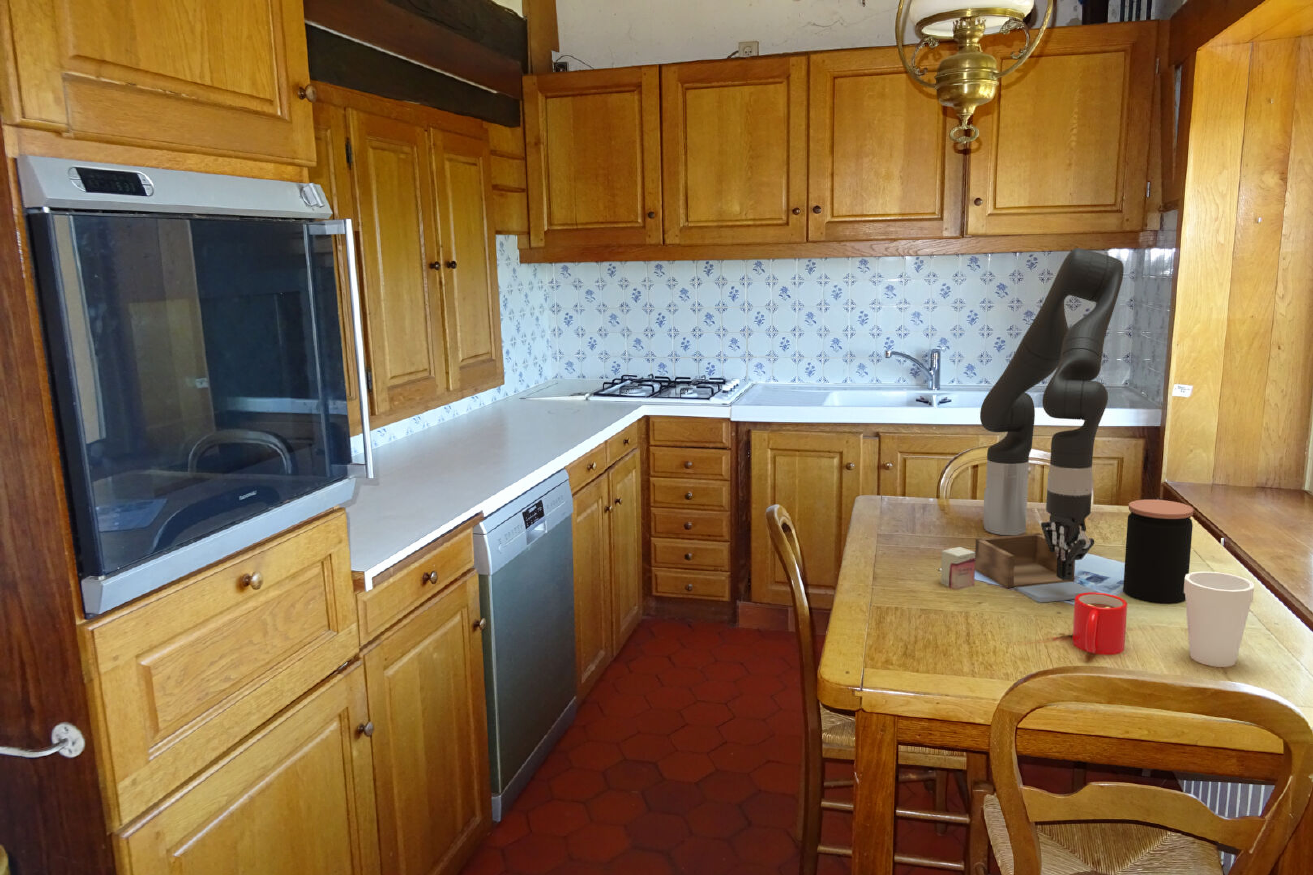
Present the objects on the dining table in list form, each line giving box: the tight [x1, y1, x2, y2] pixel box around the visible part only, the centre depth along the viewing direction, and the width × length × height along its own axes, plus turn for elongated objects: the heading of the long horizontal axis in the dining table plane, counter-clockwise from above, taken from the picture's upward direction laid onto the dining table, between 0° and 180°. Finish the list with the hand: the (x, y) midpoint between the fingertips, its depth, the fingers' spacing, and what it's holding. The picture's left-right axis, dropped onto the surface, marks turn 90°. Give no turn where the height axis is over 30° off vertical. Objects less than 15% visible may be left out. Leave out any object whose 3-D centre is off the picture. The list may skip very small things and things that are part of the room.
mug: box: [1071, 592, 1128, 656], centre depth 150 cm, size 8×12×8 cm, turn 147°
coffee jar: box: [1122, 499, 1195, 605], centre depth 171 cm, size 11×11×18 cm
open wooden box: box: [974, 532, 1076, 590], centre depth 184 cm, size 12×14×8 cm
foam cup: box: [1184, 570, 1255, 668], centre depth 145 cm, size 10×9×13 cm
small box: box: [940, 546, 976, 590], centre depth 180 cm, size 5×4×8 cm
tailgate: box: [1013, 581, 1098, 604], centre depth 174 cm, size 1×12×8 cm
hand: (1063, 578), depth 171 cm, fingers closed
